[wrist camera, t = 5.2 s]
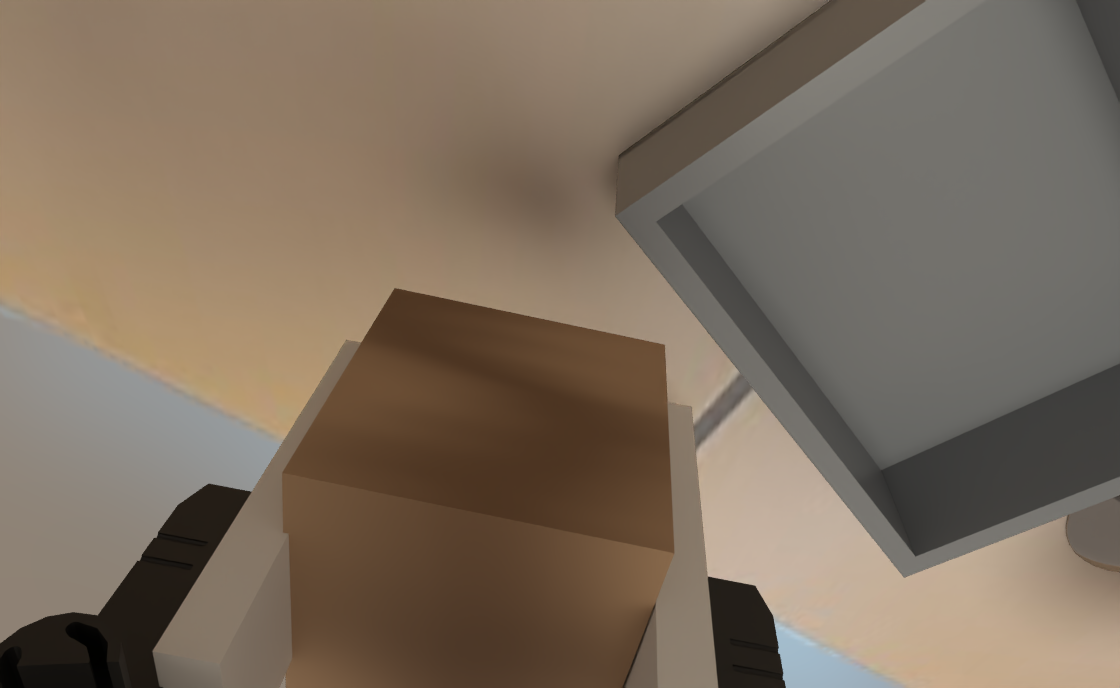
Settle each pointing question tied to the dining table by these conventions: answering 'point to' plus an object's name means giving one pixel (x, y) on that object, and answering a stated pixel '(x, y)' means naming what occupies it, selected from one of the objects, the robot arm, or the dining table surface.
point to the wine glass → (1097, 534)
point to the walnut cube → (479, 505)
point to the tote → (912, 255)
